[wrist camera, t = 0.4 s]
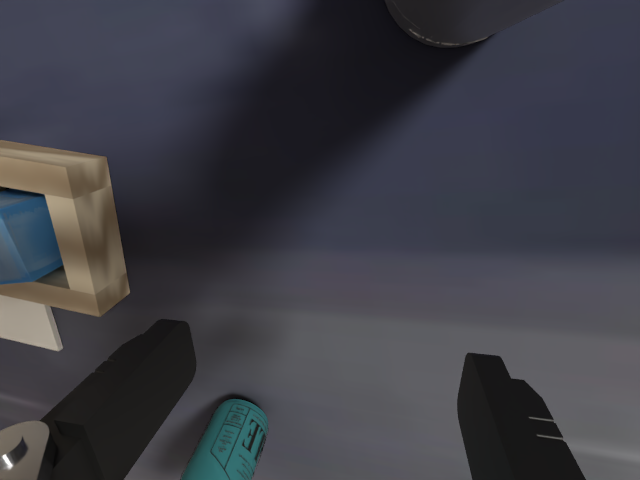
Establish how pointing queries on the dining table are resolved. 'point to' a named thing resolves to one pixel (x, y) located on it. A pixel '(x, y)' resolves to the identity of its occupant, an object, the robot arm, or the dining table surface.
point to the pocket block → (71, 227)
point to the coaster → (28, 323)
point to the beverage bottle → (229, 443)
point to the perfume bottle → (26, 237)
